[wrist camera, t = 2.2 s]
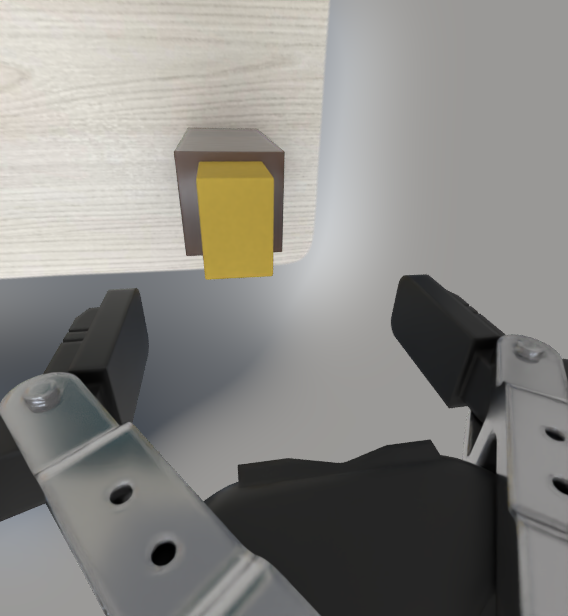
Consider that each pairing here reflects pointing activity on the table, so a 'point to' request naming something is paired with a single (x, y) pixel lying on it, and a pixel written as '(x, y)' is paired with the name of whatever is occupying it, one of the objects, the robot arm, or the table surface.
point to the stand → (224, 149)
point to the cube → (236, 219)
